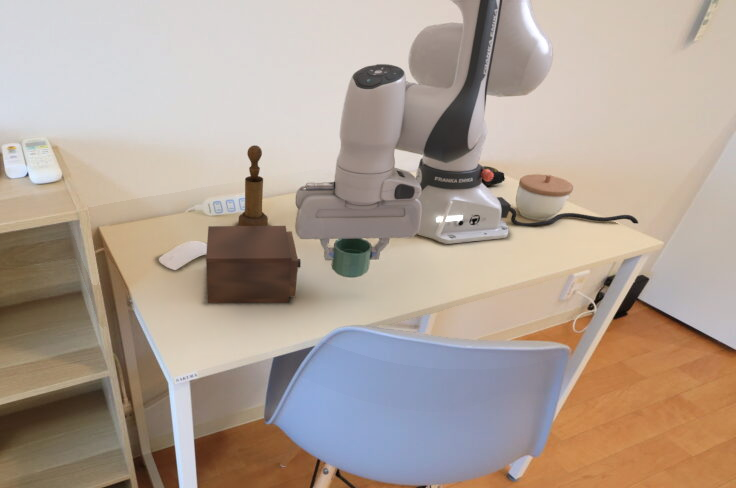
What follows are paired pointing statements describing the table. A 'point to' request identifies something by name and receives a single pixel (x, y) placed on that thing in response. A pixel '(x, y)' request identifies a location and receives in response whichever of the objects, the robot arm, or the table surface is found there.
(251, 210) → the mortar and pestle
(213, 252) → the cabinet
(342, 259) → the cylindrical container
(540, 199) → the trinket box
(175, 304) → the table surface
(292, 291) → the drawer
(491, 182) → the tape measure
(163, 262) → the white curved flat piece
